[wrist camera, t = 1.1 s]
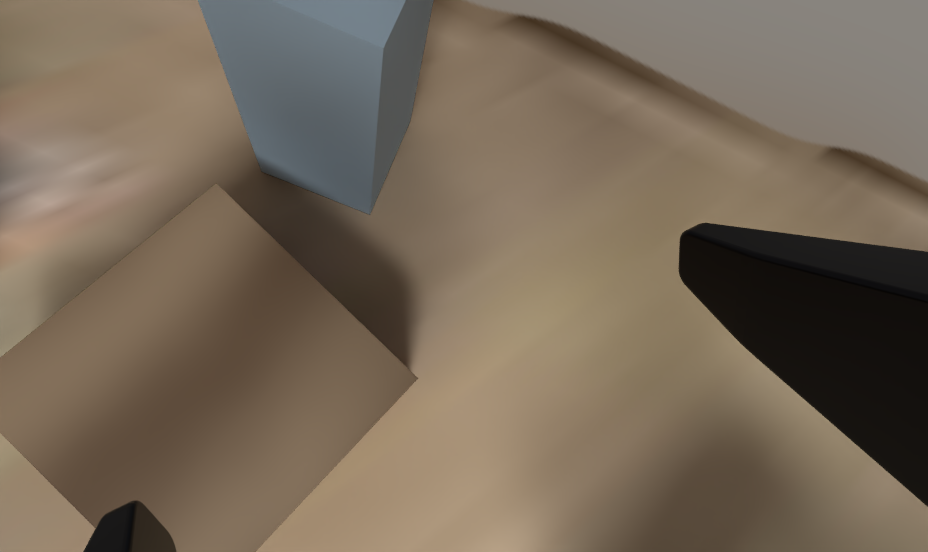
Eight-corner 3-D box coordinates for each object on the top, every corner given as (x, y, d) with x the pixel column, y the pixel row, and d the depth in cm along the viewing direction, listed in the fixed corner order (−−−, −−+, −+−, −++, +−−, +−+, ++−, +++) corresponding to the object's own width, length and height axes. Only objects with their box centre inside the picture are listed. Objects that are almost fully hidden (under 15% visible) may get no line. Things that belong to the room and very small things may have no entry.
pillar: (410, 121, 25) (452, -101, 14) (369, 214, 23) (383, 48, 13) (308, 78, 24) (273, -182, 14) (261, 171, 23) (184, -37, 12)
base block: (407, 385, 22) (418, 378, 19) (220, 583, 20) (189, 622, 16) (239, 222, 23) (216, 183, 19) (33, 396, 20) (-42, 391, 16)
